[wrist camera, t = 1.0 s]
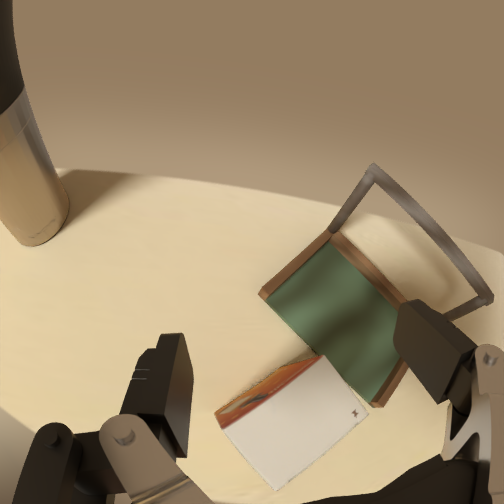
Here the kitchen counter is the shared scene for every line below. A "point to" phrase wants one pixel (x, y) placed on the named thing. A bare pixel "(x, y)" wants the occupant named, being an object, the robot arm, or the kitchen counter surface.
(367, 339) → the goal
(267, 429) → the small box
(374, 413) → the kitchen counter surface
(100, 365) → the kitchen counter surface
